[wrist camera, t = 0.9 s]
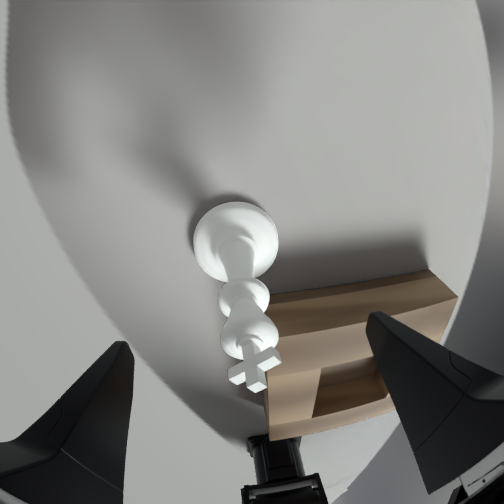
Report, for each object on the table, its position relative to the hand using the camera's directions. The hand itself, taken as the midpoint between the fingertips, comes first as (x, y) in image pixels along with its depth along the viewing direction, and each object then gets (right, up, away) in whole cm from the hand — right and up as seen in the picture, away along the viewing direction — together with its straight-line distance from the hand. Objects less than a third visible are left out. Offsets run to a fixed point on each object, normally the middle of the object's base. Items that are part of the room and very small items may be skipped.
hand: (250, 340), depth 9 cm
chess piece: (-1, +4, +7) cm, 8 cm away
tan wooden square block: (+8, -5, +12) cm, 16 cm away
